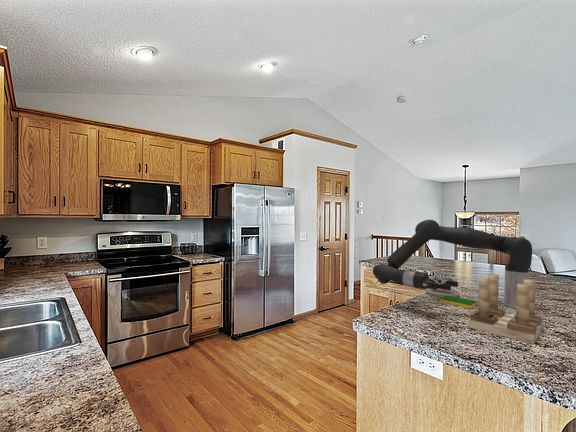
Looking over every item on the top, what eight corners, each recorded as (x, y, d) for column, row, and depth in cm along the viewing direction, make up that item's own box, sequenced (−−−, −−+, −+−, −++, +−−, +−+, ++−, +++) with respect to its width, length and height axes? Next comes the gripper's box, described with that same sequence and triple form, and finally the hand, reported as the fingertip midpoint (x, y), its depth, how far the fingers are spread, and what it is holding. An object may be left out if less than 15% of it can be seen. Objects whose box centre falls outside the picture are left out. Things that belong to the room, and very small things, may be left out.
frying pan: (464, 286, 184) (457, 295, 161) (464, 291, 184) (457, 301, 161) (432, 281, 193) (422, 290, 171) (432, 286, 193) (421, 295, 171)
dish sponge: (446, 299, 163) (446, 295, 163) (475, 306, 152) (475, 301, 152) (440, 302, 158) (440, 297, 158) (470, 309, 148) (470, 304, 148)
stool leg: (480, 317, 125) (482, 277, 125) (491, 320, 122) (492, 279, 122) (476, 319, 123) (477, 278, 123) (486, 322, 120) (488, 280, 120)
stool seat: (483, 316, 137) (485, 272, 136) (542, 329, 122) (544, 280, 122) (469, 327, 123) (470, 278, 122) (533, 343, 108) (535, 288, 108)
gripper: (408, 273, 137) (448, 279, 125) (422, 269, 147) (460, 274, 135) (408, 290, 137) (448, 298, 125) (422, 285, 147) (460, 292, 135)
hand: (454, 286), depth 130 cm, fingers open, 8 cm apart
